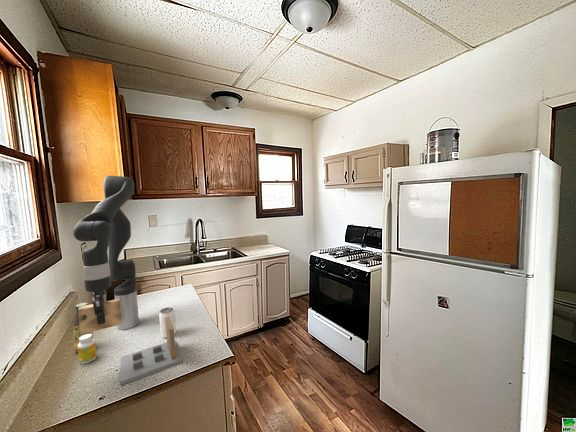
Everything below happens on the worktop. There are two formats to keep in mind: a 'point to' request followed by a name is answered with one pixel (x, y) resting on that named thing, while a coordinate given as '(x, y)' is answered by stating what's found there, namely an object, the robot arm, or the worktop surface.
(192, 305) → the worktop surface
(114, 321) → the long tan wooden block
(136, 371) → the grey and brown stand
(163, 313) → the can
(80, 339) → the supplement bottle
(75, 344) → the sauce bottle
